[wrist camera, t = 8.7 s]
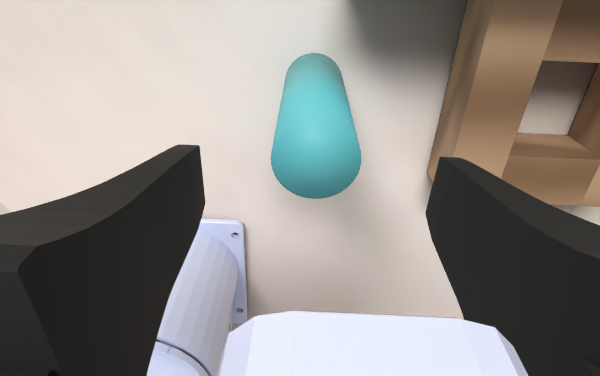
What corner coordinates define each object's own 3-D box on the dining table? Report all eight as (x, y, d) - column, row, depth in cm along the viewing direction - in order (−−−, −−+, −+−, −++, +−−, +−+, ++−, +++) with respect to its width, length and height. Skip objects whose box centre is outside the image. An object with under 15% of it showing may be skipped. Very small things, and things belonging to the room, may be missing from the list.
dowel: (339, 111, 22) (356, 200, 14) (284, 108, 22) (271, 196, 14) (344, 54, 20) (366, 120, 12) (285, 52, 20) (270, 115, 12)
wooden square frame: (595, 179, 23) (630, 208, 21) (427, 172, 23) (441, 199, 21) (688, -9, 18) (750, -2, 16) (471, -18, 18) (498, -13, 16)
